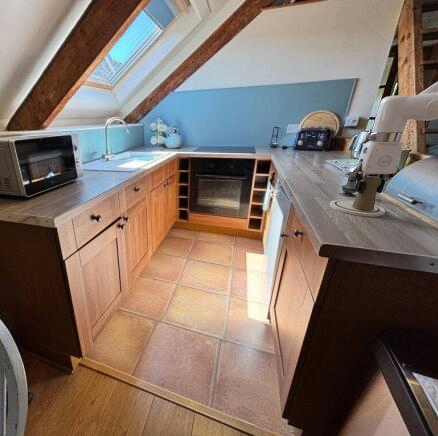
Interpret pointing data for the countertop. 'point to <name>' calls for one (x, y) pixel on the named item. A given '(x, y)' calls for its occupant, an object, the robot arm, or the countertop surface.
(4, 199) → the countertop surface
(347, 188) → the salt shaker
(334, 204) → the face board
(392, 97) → the robot arm
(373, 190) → the cork
